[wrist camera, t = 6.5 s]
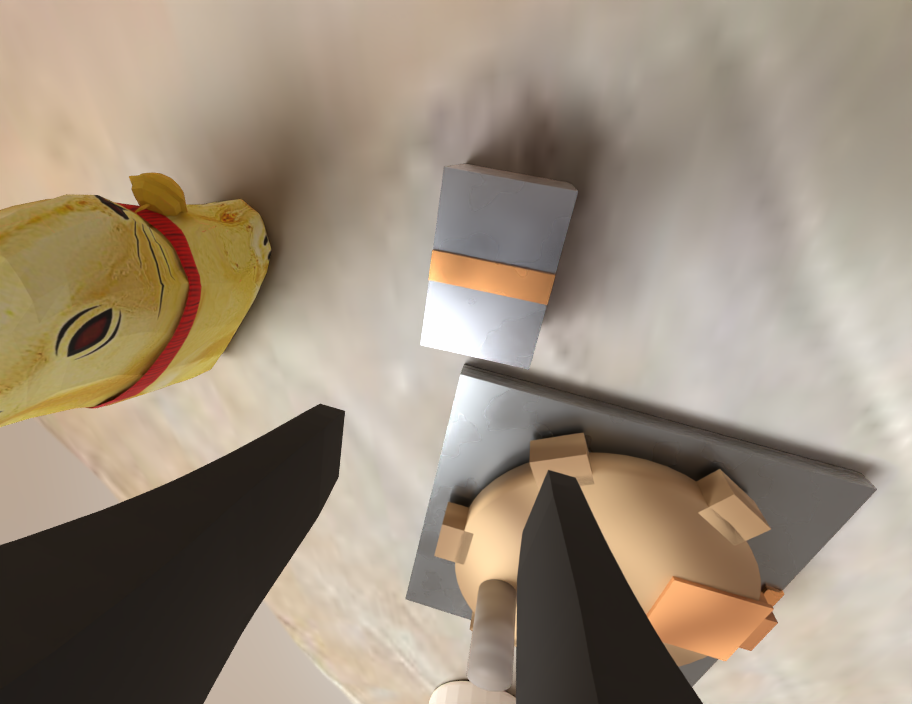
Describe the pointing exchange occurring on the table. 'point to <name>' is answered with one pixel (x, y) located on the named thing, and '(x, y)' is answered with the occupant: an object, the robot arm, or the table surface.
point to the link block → (494, 261)
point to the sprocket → (617, 553)
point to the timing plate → (638, 435)
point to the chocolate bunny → (120, 294)
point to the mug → (468, 695)
